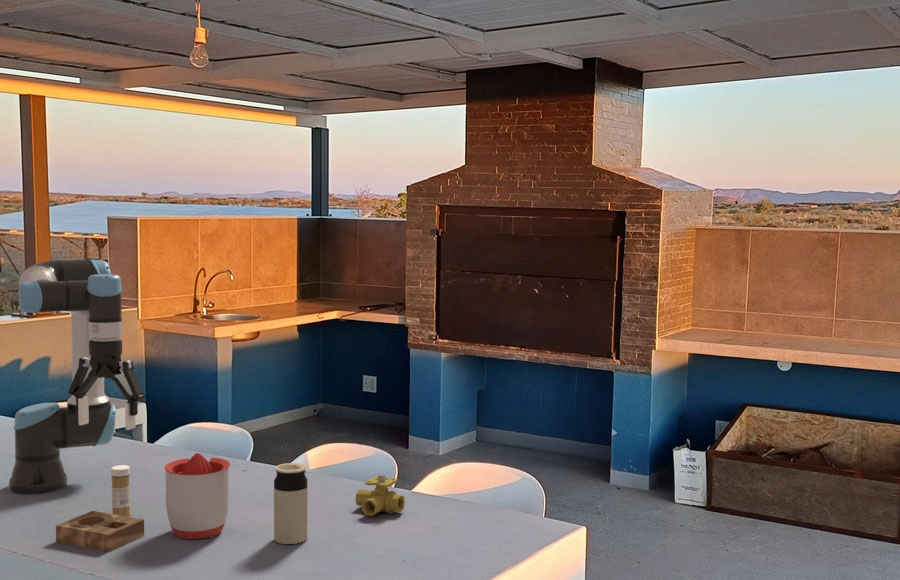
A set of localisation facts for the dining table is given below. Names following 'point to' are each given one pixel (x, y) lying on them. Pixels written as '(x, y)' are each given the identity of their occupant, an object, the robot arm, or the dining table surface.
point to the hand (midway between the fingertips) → (106, 426)
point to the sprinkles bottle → (120, 490)
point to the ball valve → (380, 497)
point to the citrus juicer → (197, 496)
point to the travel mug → (290, 504)
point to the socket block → (100, 530)
